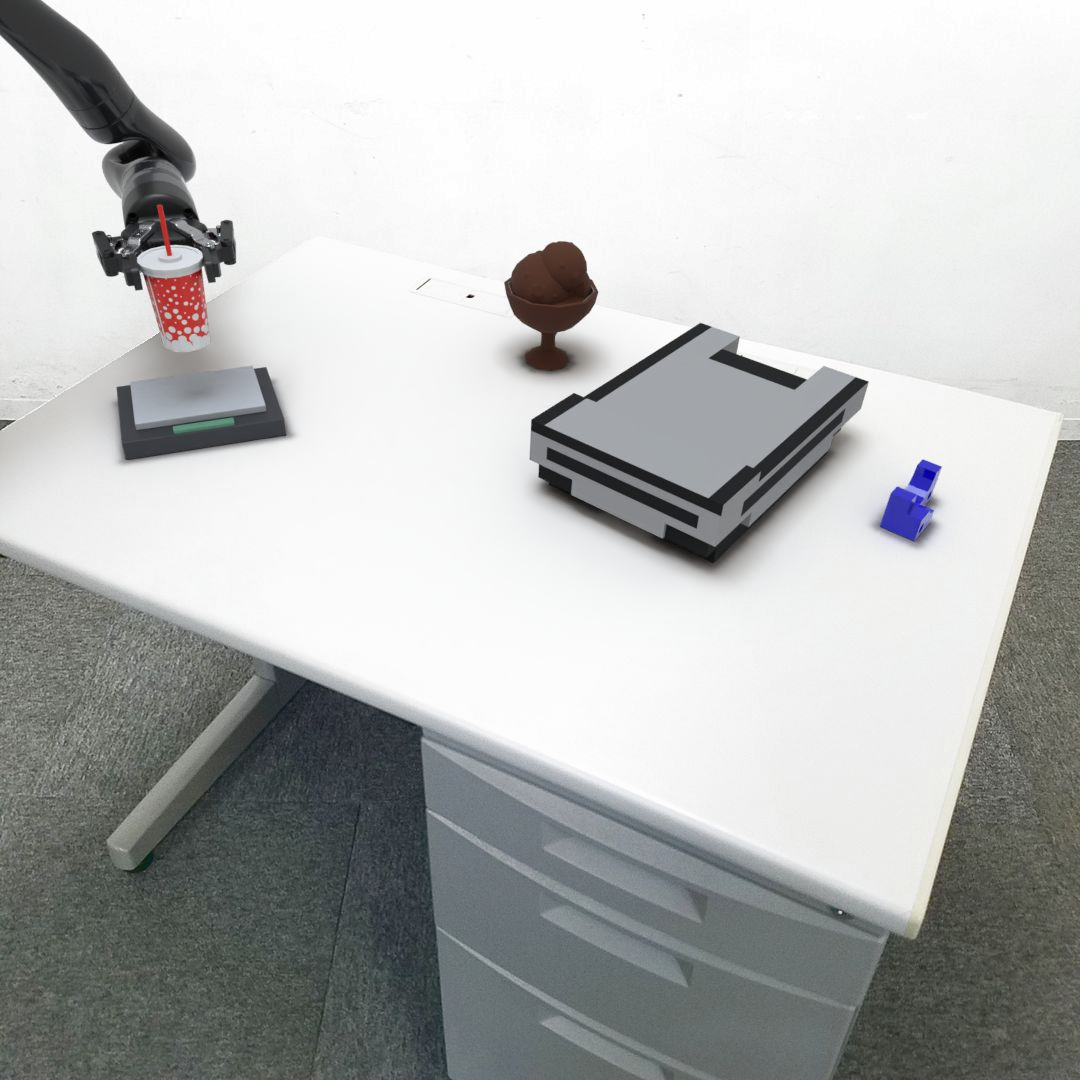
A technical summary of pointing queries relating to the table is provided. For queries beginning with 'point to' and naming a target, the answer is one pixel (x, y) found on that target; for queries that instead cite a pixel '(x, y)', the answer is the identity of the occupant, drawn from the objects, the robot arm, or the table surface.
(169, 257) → the beverage cup
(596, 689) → the table surface
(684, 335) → the game console
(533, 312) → the ice cream bowl
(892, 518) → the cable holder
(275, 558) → the table surface
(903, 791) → the table surface
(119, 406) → the scale
